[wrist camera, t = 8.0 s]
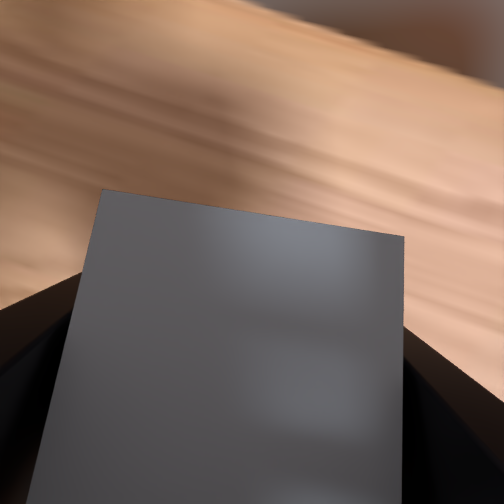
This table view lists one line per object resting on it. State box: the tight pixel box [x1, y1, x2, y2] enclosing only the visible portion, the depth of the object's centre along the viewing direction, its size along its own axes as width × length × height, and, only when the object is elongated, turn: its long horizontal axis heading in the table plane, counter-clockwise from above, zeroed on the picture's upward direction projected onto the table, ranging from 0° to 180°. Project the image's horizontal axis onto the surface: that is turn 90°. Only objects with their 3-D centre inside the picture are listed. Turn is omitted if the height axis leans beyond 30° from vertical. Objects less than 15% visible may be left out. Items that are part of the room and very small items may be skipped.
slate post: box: [26, 189, 404, 504], centre depth 11 cm, size 5×5×9 cm
